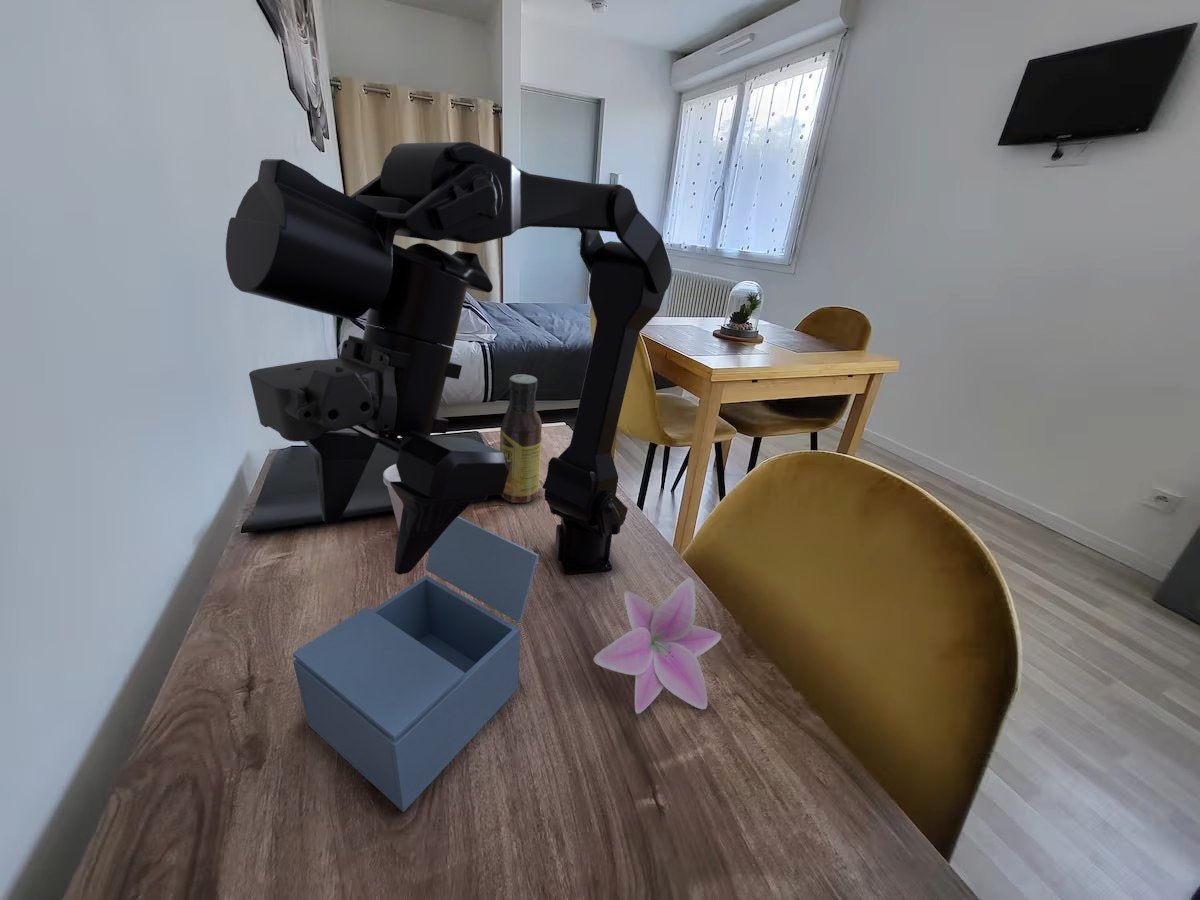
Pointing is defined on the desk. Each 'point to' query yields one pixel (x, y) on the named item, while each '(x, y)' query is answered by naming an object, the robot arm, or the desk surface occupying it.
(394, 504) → the smoothie
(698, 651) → the lily
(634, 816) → the desk surface
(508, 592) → the flap
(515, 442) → the sauce bottle
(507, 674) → the carton
